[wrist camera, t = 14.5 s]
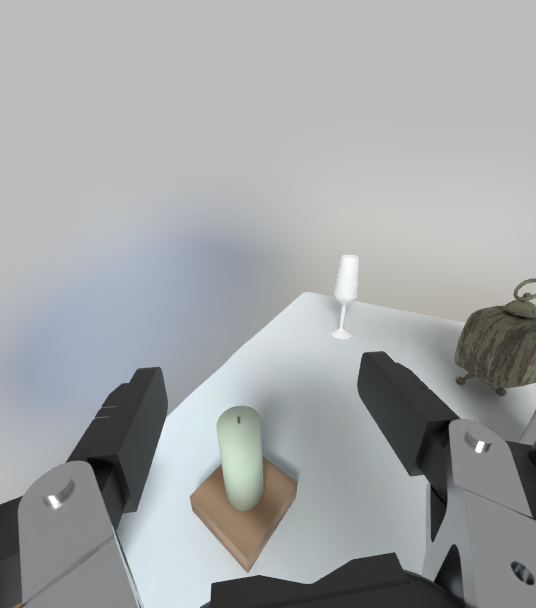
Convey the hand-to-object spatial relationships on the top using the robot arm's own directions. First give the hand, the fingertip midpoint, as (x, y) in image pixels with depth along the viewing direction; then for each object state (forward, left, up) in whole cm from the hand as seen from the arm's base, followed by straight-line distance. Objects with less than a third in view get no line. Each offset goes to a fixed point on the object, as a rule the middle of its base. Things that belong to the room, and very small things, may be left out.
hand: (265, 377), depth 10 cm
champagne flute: (-62, -20, -32) cm, 72 cm away
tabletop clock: (-59, +16, -32) cm, 69 cm away
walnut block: (-9, -11, -32) cm, 35 cm away
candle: (-9, -11, -29) cm, 32 cm away
